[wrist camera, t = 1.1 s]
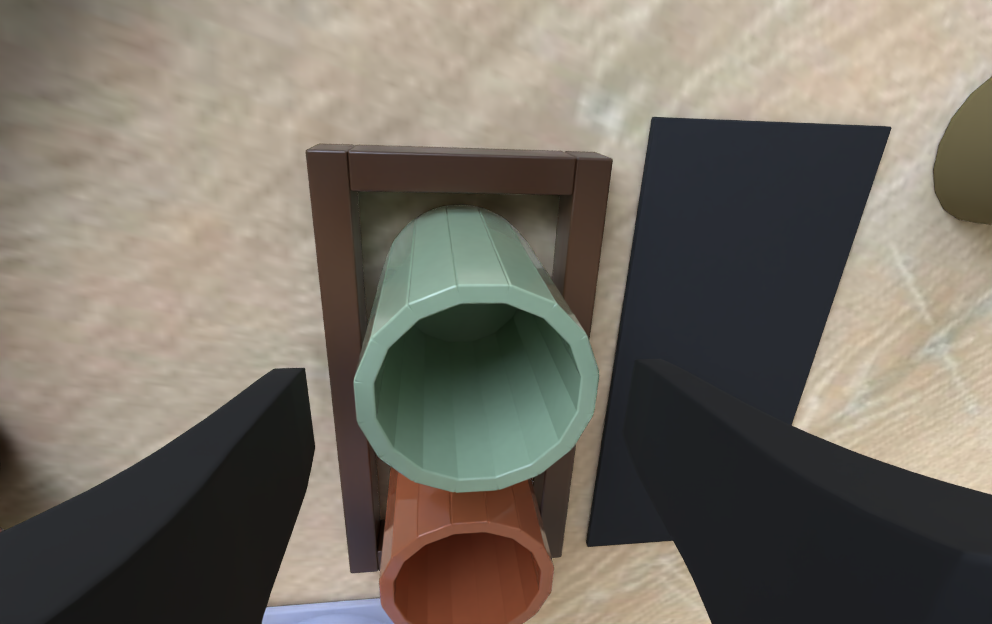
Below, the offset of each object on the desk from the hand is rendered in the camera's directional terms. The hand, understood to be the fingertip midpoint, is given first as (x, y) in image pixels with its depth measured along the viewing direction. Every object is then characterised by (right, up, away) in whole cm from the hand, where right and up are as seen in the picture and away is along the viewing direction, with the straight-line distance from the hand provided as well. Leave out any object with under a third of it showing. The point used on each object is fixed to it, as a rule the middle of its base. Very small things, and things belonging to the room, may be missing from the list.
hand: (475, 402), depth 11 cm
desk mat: (+10, 0, +11) cm, 15 cm away
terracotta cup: (-1, -4, +11) cm, 12 cm away
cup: (-1, +3, +8) cm, 8 cm away
